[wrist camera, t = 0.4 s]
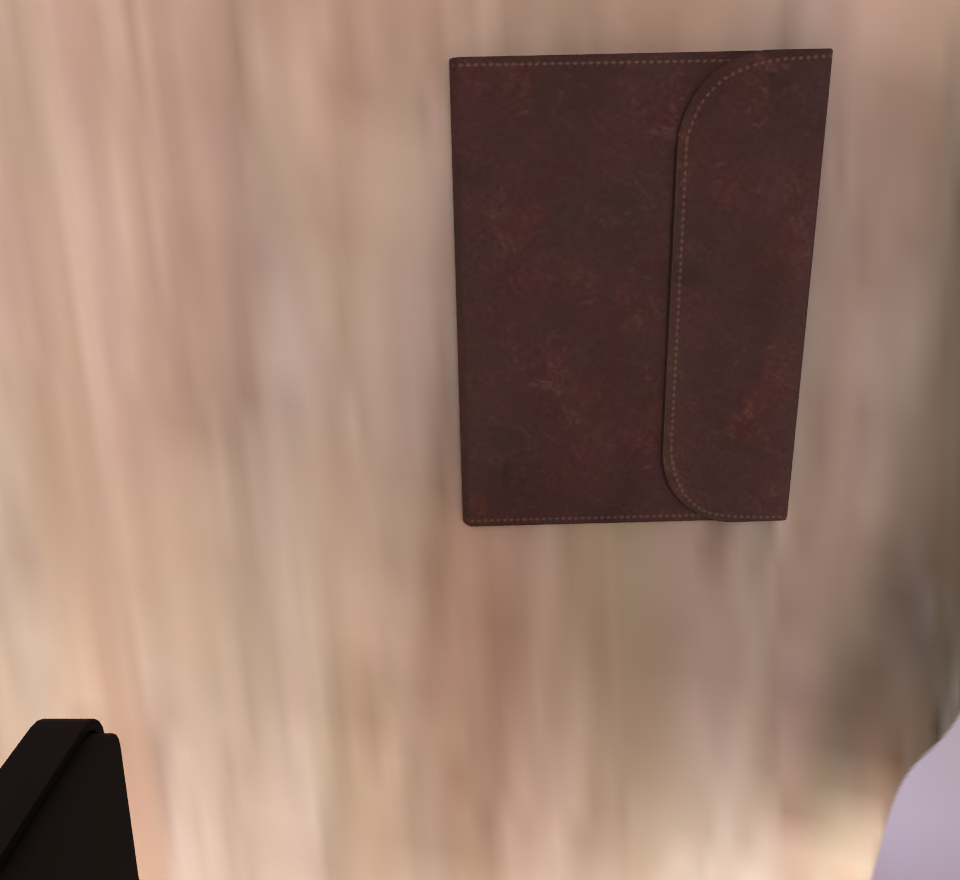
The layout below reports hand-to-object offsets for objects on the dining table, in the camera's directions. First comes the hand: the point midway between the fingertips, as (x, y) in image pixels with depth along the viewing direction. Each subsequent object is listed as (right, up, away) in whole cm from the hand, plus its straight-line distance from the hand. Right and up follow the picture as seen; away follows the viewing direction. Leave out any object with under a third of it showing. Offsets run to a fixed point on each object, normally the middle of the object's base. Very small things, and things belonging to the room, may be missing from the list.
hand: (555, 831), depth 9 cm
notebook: (+6, +10, +29) cm, 32 cm away
